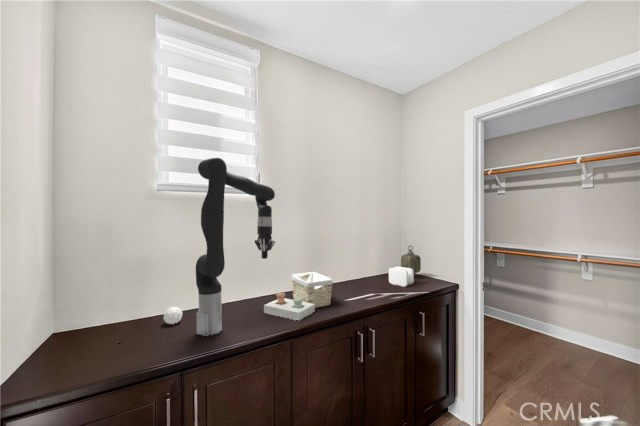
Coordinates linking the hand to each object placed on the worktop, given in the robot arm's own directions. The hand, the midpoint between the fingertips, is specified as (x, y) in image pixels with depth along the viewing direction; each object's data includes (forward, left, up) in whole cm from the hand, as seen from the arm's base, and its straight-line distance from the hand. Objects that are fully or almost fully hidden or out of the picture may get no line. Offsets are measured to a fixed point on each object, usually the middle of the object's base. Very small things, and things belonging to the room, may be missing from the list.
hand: (264, 258), depth 140 cm
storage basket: (+24, -13, -28) cm, 39 cm away
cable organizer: (+86, -49, -28) cm, 103 cm away
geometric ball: (-34, +26, -28) cm, 51 cm away
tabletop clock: (+110, -51, -28) cm, 125 cm away
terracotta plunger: (+4, -7, -26) cm, 27 cm away
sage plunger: (+4, -18, -27) cm, 33 cm away
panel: (+4, -13, -27) cm, 31 cm away
